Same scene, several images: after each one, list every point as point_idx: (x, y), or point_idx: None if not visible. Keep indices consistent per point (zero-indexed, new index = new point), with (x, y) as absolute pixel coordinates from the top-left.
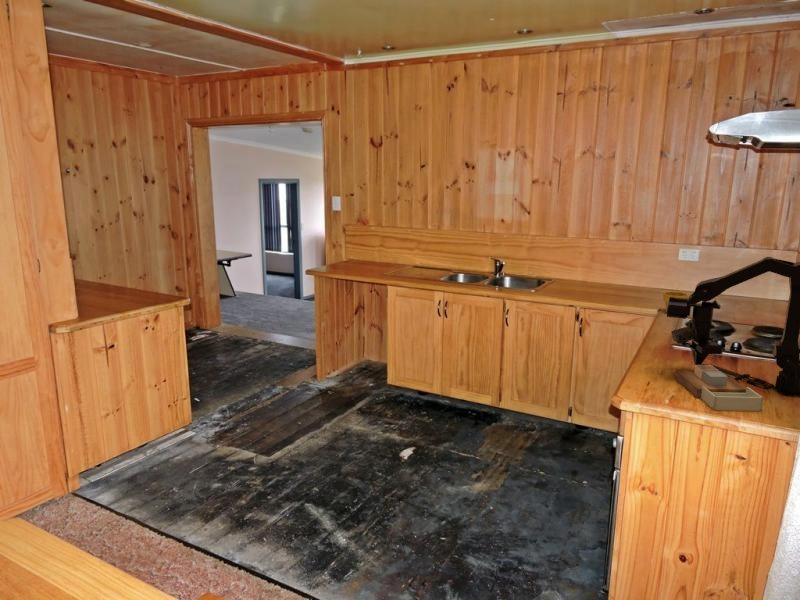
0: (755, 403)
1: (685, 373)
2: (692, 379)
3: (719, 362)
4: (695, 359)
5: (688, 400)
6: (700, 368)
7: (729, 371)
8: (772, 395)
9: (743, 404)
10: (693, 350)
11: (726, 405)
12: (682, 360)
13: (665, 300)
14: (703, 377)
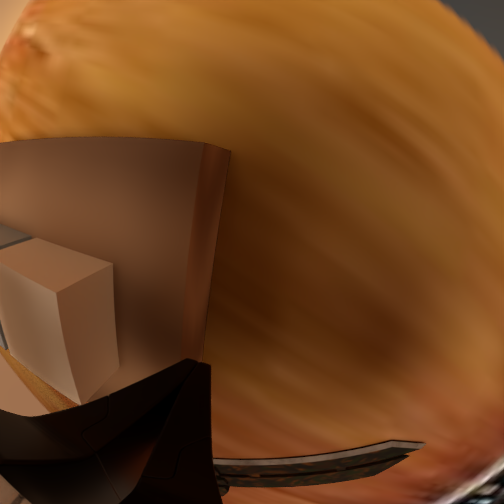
0: None
1: (117, 191)
2: (33, 178)
3: (393, 491)
4: (141, 393)
5: (11, 105)
6: (3, 268)
7: (282, 483)
8: None
9: None
10: (134, 488)
11: None
12: (493, 398)
13: None
14: (6, 237)
